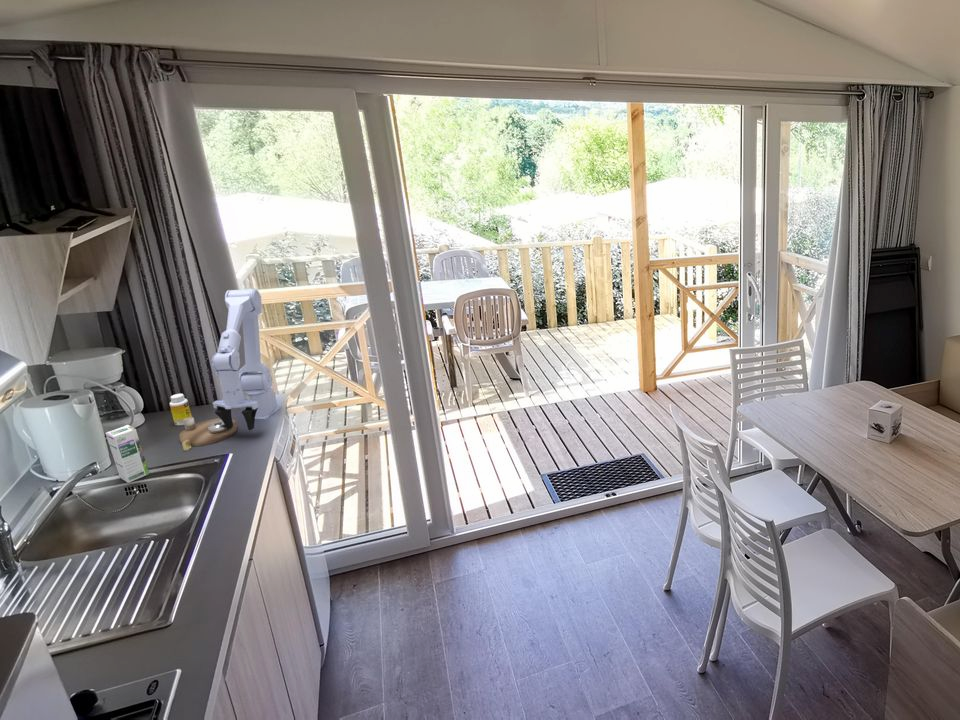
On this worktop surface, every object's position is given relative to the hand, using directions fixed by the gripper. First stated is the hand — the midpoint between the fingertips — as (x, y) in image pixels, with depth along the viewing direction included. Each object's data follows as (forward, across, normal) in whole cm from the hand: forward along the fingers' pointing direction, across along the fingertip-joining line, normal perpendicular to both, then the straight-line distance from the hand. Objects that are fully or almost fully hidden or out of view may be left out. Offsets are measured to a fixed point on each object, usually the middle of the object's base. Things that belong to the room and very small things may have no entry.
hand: (240, 428), depth 173 cm
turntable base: (+3, -12, -1) cm, 12 cm away
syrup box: (+3, -17, -26) cm, 31 cm away
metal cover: (+1, -8, 0) cm, 8 cm away
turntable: (+2, -12, 0) cm, 12 cm away
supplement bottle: (+3, -28, +8) cm, 29 cm away
